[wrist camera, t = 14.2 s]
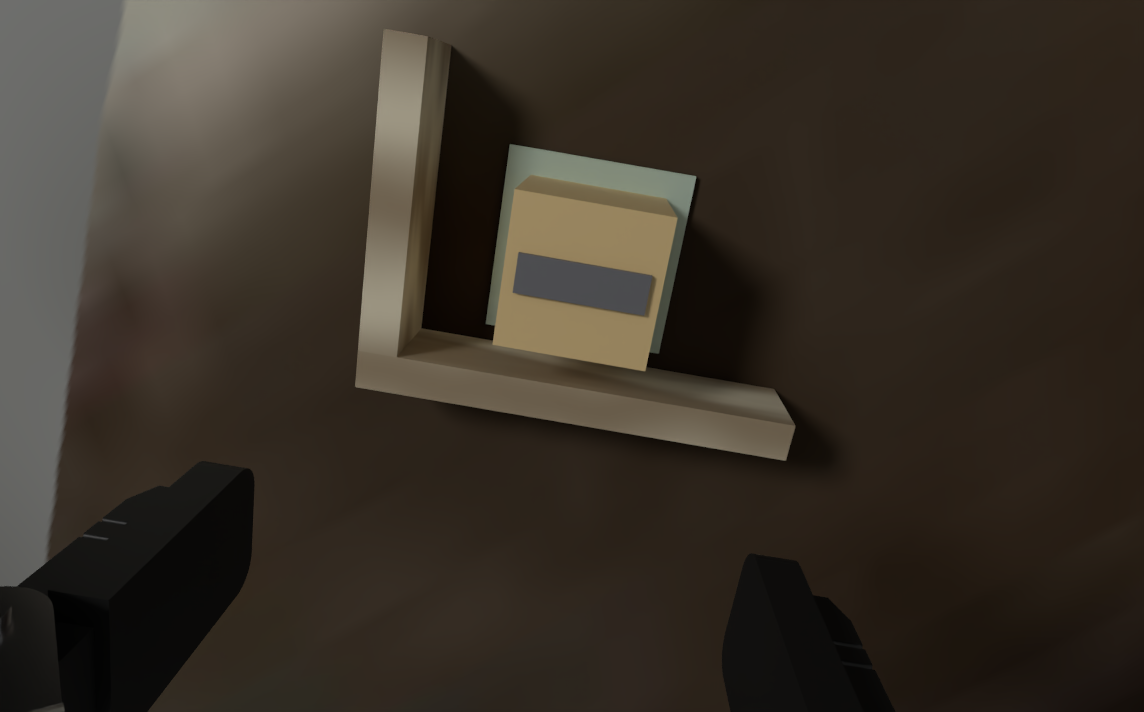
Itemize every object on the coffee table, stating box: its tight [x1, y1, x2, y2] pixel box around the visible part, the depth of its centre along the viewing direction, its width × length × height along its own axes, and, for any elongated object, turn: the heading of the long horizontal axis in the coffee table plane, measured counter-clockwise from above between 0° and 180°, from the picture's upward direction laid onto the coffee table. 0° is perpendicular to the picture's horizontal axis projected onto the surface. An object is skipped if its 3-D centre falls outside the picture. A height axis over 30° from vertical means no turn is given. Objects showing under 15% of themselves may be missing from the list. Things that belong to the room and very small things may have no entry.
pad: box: [486, 144, 696, 354], centre depth 32 cm, size 8×8×1 cm
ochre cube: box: [493, 175, 678, 371], centre depth 29 cm, size 6×6×6 cm
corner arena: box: [355, 29, 795, 461], centre depth 30 cm, size 13×17×4 cm
